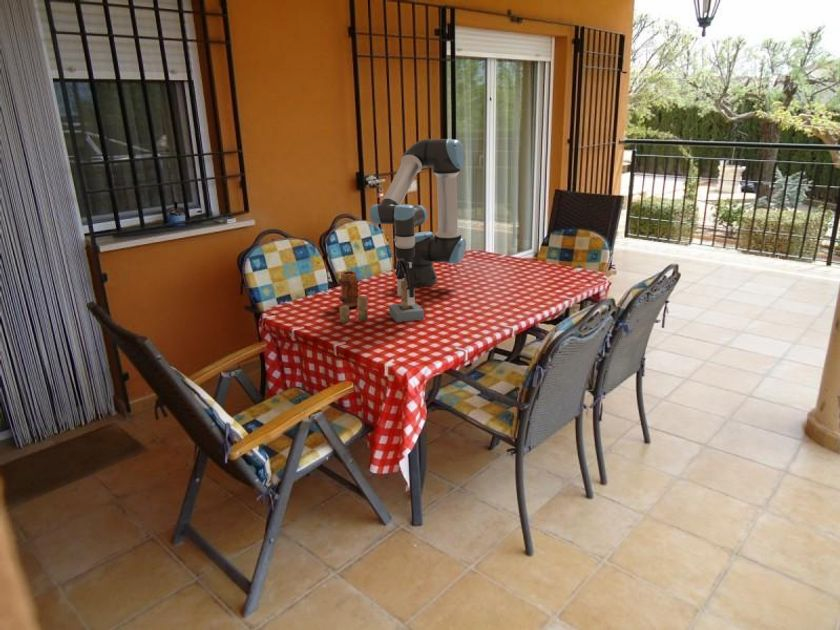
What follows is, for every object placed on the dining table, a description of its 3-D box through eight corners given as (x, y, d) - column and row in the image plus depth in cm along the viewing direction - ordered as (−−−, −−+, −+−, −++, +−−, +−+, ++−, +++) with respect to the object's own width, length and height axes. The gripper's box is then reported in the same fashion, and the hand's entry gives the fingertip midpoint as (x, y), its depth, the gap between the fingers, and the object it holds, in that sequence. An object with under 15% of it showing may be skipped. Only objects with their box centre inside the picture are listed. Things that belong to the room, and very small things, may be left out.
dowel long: (409, 314, 248) (408, 280, 243) (411, 317, 245) (411, 282, 240) (400, 315, 247) (399, 281, 242) (403, 318, 243) (402, 283, 239)
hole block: (415, 310, 252) (415, 302, 251) (423, 319, 242) (423, 310, 241) (389, 313, 249) (388, 304, 248) (396, 322, 239) (396, 313, 238)
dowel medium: (366, 317, 245) (365, 295, 242) (368, 320, 242) (368, 298, 239) (357, 318, 244) (356, 296, 241) (359, 321, 240) (358, 299, 237)
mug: (337, 303, 262) (335, 268, 257) (356, 301, 265) (355, 267, 260) (346, 314, 249) (344, 277, 244) (366, 311, 252) (364, 275, 247)
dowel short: (348, 319, 243) (347, 304, 241) (350, 322, 239) (349, 307, 238) (339, 320, 242) (338, 305, 240) (341, 323, 238) (340, 308, 236)
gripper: (386, 240, 247) (388, 291, 254) (404, 254, 224) (405, 310, 231) (405, 239, 249) (406, 290, 256) (424, 252, 226) (425, 308, 233)
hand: (406, 299), depth 243 cm, fingers open, 13 cm apart
